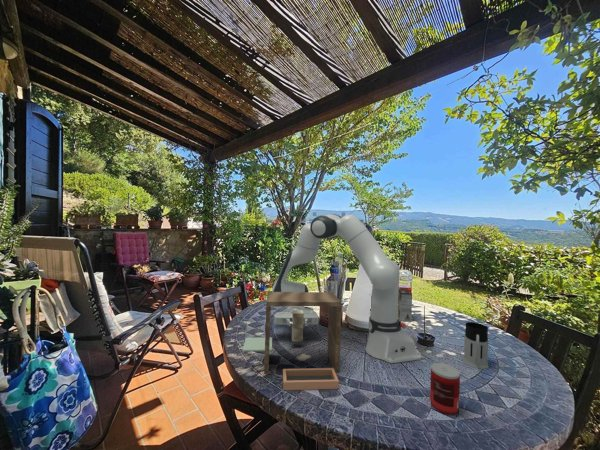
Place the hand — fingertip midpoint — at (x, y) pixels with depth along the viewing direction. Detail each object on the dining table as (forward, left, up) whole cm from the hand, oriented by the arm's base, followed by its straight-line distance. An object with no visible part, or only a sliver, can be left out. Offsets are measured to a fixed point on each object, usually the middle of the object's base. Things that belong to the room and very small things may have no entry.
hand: (297, 324), depth 116 cm
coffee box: (-66, -34, -10) cm, 75 cm away
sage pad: (+17, -2, -9) cm, 20 cm away
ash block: (0, -1, -6) cm, 7 cm away
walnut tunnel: (0, +14, -9) cm, 17 cm away
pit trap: (-2, +26, -9) cm, 28 cm away
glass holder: (-69, +18, -10) cm, 72 cm away
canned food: (-41, +40, -10) cm, 58 cm away
